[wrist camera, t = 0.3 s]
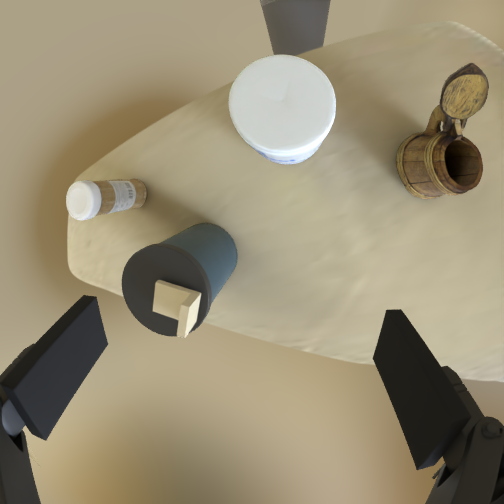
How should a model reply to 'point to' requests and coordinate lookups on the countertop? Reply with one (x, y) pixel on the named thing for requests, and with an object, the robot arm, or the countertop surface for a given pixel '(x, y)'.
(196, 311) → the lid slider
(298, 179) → the countertop surface
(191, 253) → the tumbler
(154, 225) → the countertop surface
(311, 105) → the supplement tub
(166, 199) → the countertop surface
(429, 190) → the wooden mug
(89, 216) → the sprinkles bottle
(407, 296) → the countertop surface
